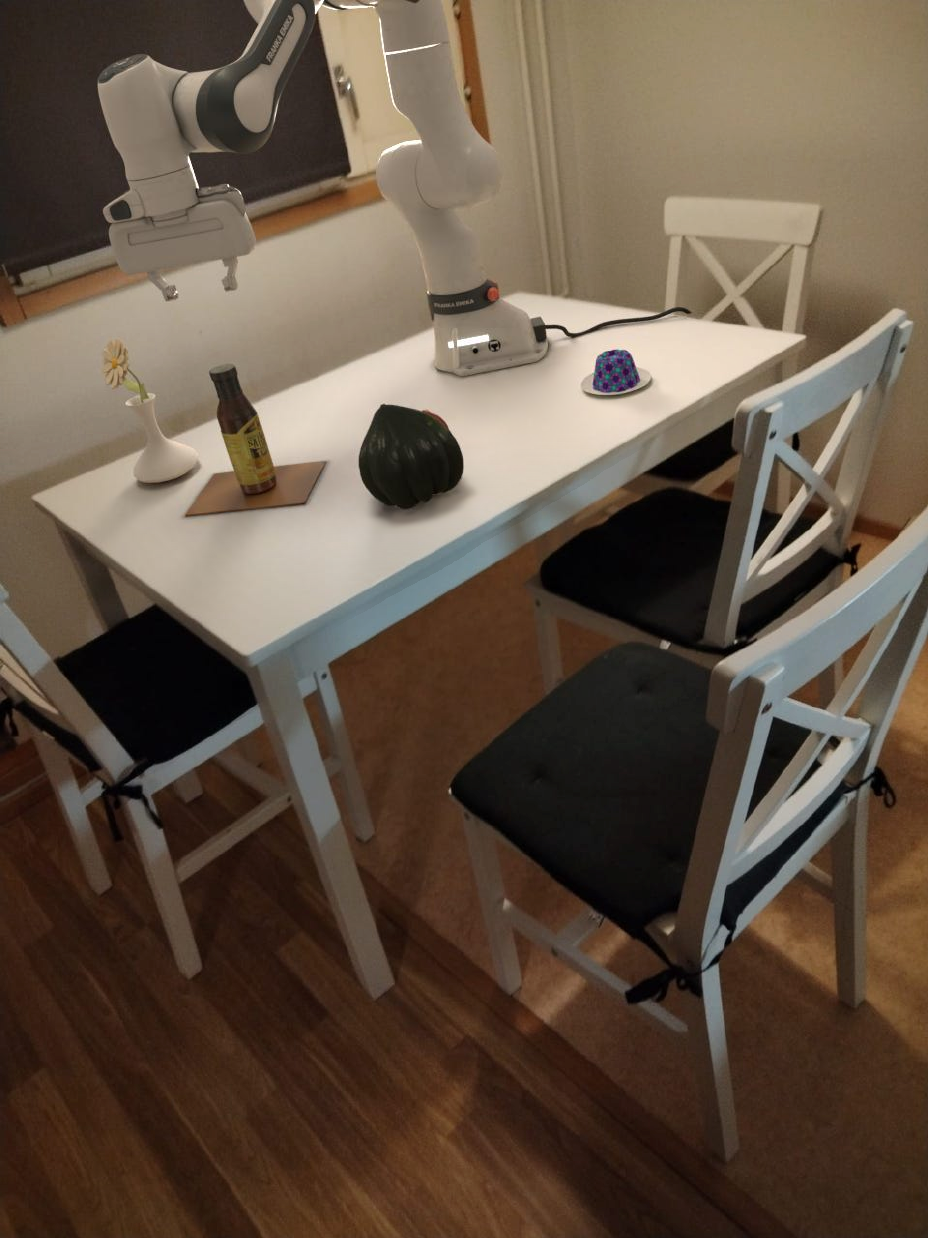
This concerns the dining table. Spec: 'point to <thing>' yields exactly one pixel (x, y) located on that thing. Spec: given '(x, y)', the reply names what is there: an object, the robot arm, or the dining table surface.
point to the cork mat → (287, 491)
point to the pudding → (615, 374)
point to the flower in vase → (147, 423)
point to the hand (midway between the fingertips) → (202, 294)
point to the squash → (408, 457)
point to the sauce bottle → (242, 433)
